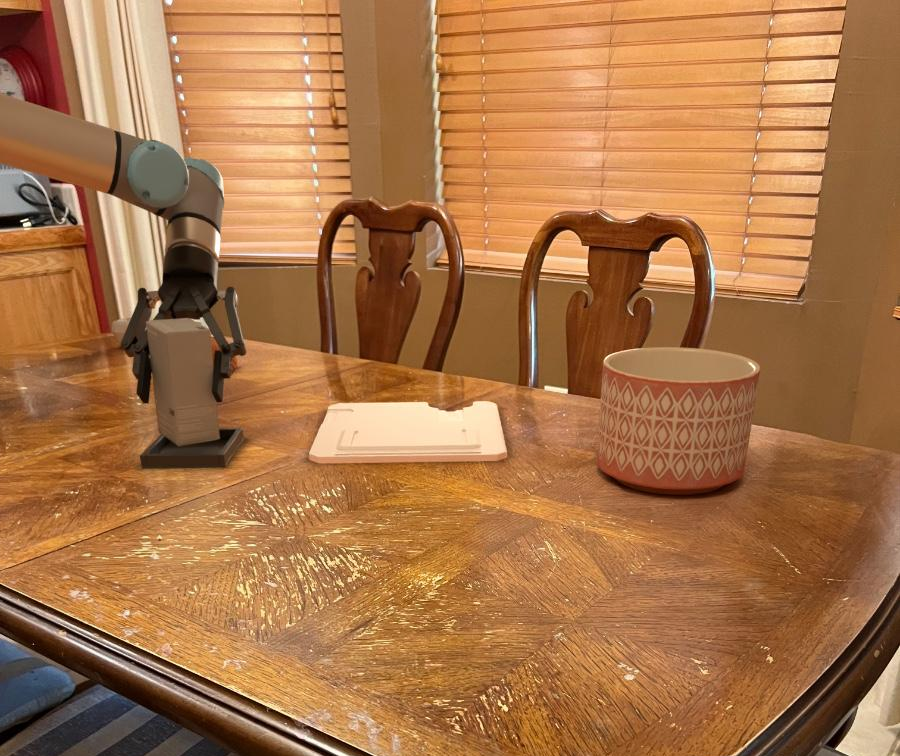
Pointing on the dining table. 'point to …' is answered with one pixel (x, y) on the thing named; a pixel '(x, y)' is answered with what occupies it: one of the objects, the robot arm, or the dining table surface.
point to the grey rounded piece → (120, 328)
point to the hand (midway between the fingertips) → (179, 397)
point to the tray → (408, 433)
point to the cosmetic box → (183, 380)
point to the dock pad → (193, 452)
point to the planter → (676, 418)
